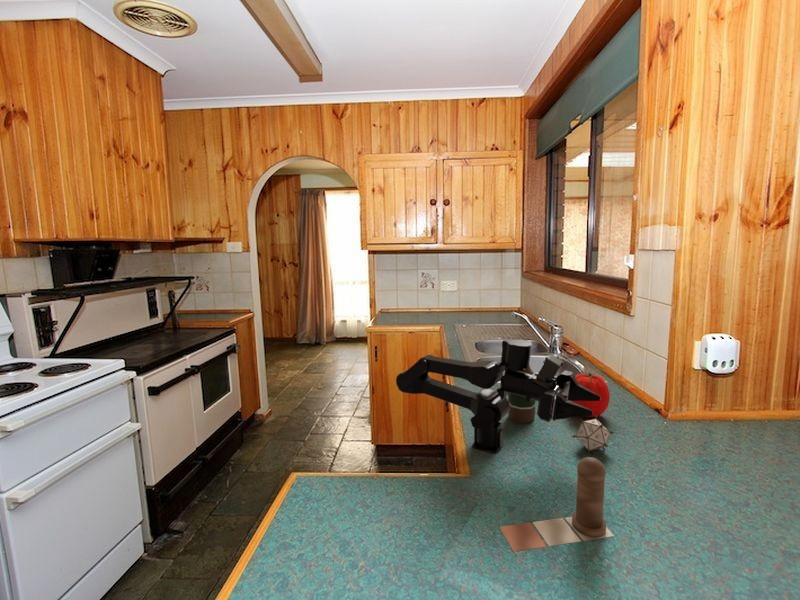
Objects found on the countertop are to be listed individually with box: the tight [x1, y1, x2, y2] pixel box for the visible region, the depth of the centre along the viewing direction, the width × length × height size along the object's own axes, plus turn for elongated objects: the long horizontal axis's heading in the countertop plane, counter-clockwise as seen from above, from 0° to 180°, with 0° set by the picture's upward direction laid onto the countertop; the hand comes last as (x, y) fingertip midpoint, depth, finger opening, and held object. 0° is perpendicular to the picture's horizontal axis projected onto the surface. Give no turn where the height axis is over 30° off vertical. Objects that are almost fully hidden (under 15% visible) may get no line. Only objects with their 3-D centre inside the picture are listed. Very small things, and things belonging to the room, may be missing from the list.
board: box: [499, 516, 615, 553], centre depth 72 cm, size 21×10×1 cm, turn 99°
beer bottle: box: [507, 338, 536, 424], centre depth 118 cm, size 8×8×24 cm
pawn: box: [571, 456, 607, 538], centre depth 72 cm, size 6×6×13 cm
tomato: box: [572, 371, 611, 418], centre depth 120 cm, size 12×12×13 cm
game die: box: [571, 416, 615, 455], centre depth 101 cm, size 9×8×10 cm
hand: (596, 405), depth 88 cm, fingers open, 9 cm apart
